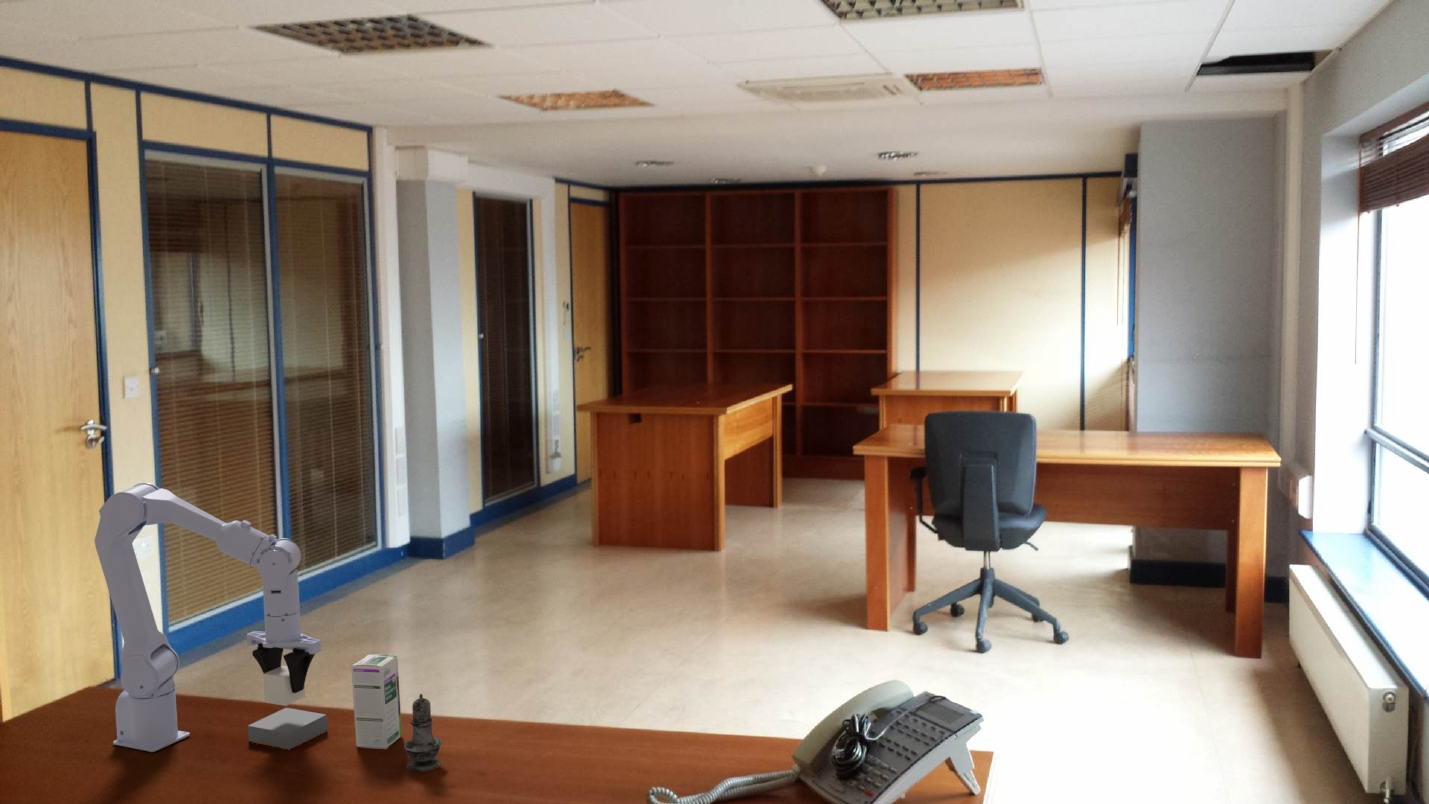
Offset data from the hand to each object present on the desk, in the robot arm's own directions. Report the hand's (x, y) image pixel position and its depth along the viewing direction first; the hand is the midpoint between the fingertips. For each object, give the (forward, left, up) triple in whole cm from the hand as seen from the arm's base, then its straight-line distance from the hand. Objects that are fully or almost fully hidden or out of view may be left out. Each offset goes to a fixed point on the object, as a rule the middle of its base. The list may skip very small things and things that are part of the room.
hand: (286, 689), depth 203 cm
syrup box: (+16, +4, -9) cm, 19 cm away
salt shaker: (+29, -1, -9) cm, 30 cm away
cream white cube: (0, 0, -2) cm, 2 cm away
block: (0, 0, -8) cm, 8 cm away
